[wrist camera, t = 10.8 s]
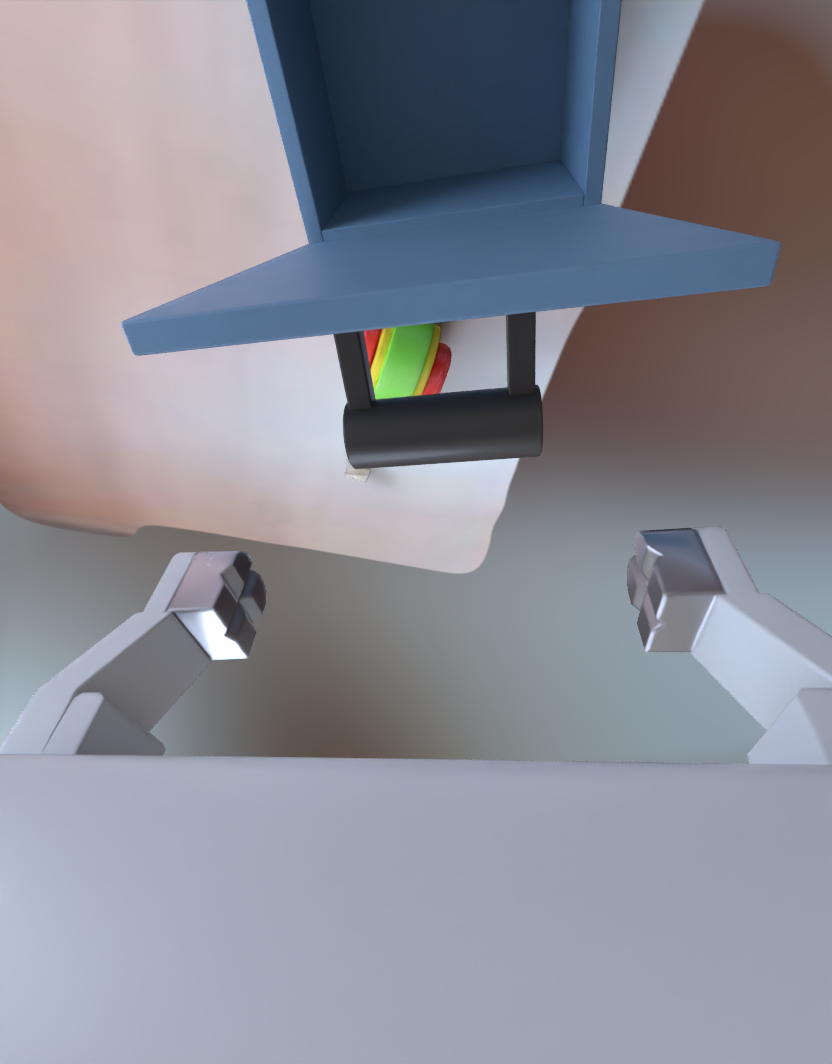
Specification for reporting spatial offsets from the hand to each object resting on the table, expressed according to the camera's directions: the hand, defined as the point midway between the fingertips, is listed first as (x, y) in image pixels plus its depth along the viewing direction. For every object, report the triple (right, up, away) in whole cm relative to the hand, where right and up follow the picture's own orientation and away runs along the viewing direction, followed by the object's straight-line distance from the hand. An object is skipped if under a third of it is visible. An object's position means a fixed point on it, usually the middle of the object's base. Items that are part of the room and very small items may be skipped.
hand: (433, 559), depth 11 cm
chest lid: (0, +10, +7) cm, 12 cm away
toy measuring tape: (-3, +13, +30) cm, 32 cm away
